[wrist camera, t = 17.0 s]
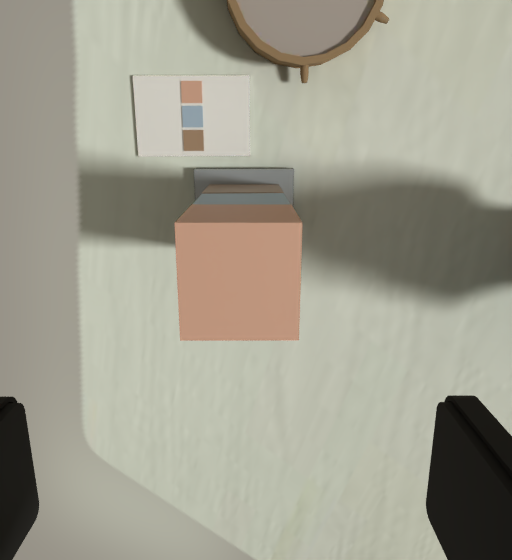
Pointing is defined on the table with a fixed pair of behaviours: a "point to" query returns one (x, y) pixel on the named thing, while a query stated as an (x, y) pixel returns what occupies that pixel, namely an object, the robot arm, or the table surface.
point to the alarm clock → (303, 28)
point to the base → (244, 181)
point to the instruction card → (192, 115)
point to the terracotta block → (239, 272)
